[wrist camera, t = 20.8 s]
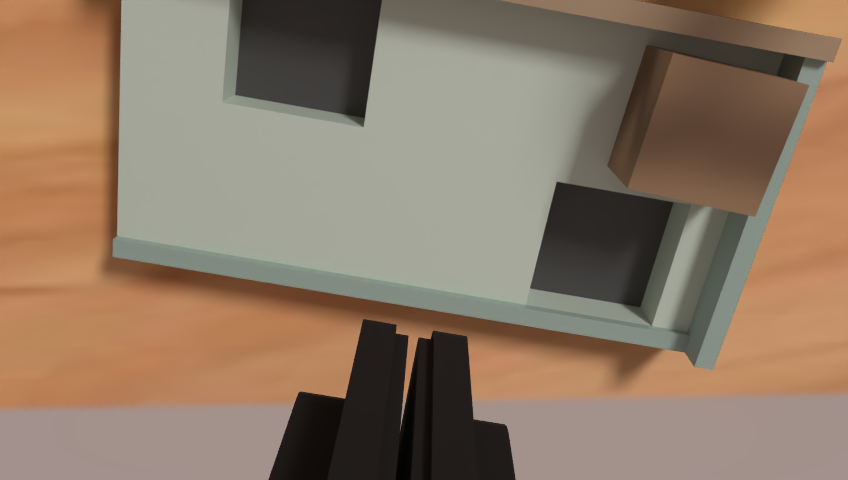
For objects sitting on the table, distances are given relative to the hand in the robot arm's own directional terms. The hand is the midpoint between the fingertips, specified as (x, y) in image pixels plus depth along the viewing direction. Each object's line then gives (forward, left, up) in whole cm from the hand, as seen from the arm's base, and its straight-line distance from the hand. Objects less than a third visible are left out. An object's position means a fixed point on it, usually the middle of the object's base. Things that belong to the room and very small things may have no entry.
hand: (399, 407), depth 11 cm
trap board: (+1, +1, -27) cm, 27 cm away
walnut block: (-2, +12, -25) cm, 28 cm away
